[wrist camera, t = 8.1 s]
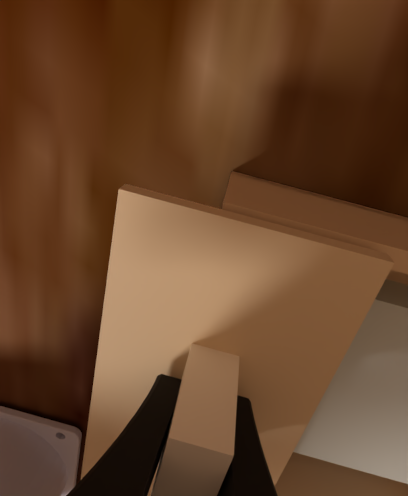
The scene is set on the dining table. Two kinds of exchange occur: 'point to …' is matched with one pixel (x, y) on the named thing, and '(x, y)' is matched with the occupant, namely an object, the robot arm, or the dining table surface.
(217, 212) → the flap
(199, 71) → the dining table surface
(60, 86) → the dining table surface
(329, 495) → the carton
